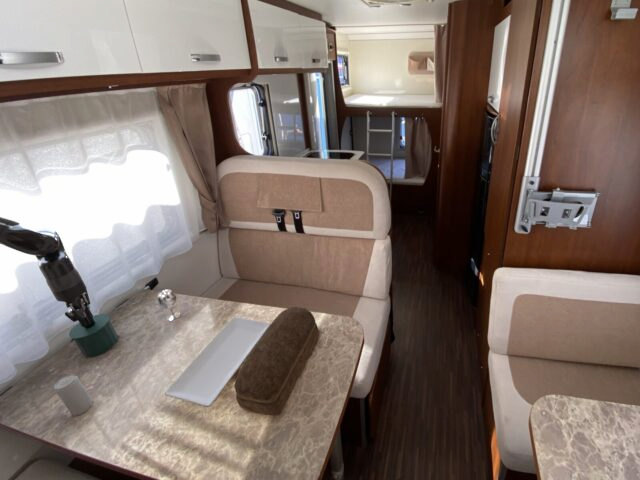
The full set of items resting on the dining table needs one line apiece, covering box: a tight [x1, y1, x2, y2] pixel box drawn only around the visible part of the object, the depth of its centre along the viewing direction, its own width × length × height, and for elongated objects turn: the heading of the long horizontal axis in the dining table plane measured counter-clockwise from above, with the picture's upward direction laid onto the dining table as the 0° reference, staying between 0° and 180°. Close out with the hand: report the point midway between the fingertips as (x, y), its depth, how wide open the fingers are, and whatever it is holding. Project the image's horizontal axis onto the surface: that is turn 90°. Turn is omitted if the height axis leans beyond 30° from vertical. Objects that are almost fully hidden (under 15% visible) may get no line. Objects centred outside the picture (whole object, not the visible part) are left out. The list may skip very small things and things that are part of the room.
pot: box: [73, 320, 119, 358], centre depth 110 cm, size 10×10×10 cm
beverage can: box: [53, 373, 94, 416], centre depth 89 cm, size 5×5×12 cm
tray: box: [164, 316, 271, 408], centre depth 103 cm, size 17×32×4 cm, turn 166°
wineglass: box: [157, 288, 181, 321], centre depth 122 cm, size 6×6×12 cm
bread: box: [233, 306, 320, 416], centre depth 97 cm, size 15×32×16 cm, turn 168°
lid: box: [68, 309, 111, 340], centre depth 107 cm, size 11×11×8 cm
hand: (87, 321), depth 108 cm, fingers closed on lid, 3 cm apart
